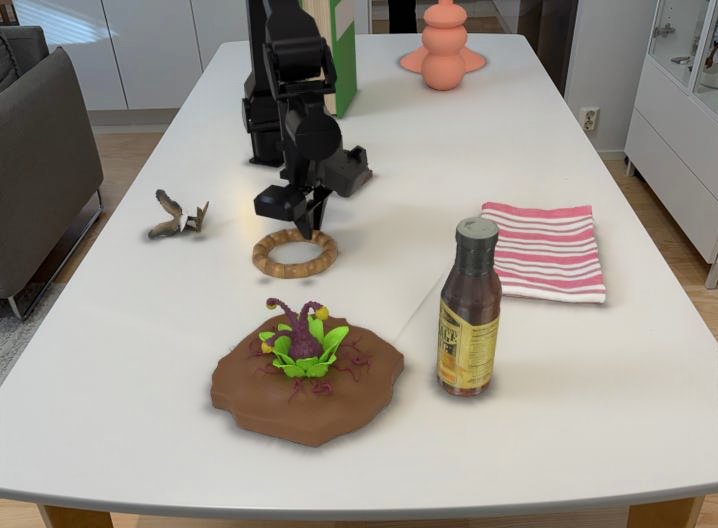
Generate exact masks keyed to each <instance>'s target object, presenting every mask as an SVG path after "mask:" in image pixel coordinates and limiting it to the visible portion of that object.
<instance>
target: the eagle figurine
mask: <svg viewBox="0 0 718 528" xmlns="http://www.w3.org/2000/svg"><path fill="white" fill-rule="evenodd" d="M155 198H156V200H157V202H159V205H161V207H162V208H163V210H164V211H165V212H166V213H167V214H169V215H171V216H172V217H173V219H171V220H167V221H164V222H159V223H158V224H156V225H155V227H154V228H153V229H151V230H149V231H148V233H147V235H148V236H147V237H148V238H149V239H155V238H158V237H163V236H164V237H170V236H172V235H174V234H175V232H176V231H177V229H179V228H180V232H181V233H182V232H183V230H184V229H185V230H188V231H192V232H195V233H196V234H200V233H201V232H202V231H201V230H202V227H203V220H204V219H205V216H206V213H207V212H208V209H209V206H210V205H209V203H210V201H209V200H207V201H206V203H205V205H204V207H203V209H202V208H201V207H199V206H196V216H192V215H189V213H188V211H187V210H185V211H184V210H183V207H182V206H181V205H180V204H179V203H178V202H177V201H176V200H173V199H171V197H170V196H169V195H168V194H167V193H166V190H164V189H161V188H160V189H159V188H157V189H156V190H155ZM183 211H184V213H183ZM192 221H194V223H195V227H194V226H193V225H191V224H189V223H188V222H192Z"/></svg>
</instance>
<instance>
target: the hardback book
mask: <svg viewBox="0 0 718 528" xmlns="http://www.w3.org/2000/svg"><path fill="white" fill-rule="evenodd" d="M299 2H300V5H301V8H302V9H303V10H304V11H305V12H307V13H308V14H309V15H311V16H312V17H313V18H314V19H315V21H316V24H317V26H318V29H319V32H320V35H321V37H324V38H325V39H326V41H327V44H328V45H329V46H330V49H331V53H332V57H333V61H334V65H335V69H336V74H337V82H336V83H335V88H336V93H335V94H327V95H324V100H325V105H326V107H327V109H328V111H329V112H330V113H331V115H336V119H343V116H344V115H345V113H346V111H347V109H348V107H349V106H350V104H351V102H352V101H353V99H354V97H355V96H356V94H357V92H358V78H357V77H358V75H357V55H356V54H357V53H356V51H357V50H356V30H355V5H354V0H299ZM321 79H325V77H324V73H323V70H322V68H321V75H320V77H319V78H310V79H306V80H307V81H312V80H321ZM325 81H326V80H325Z"/></svg>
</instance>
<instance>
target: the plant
mask: <svg viewBox="0 0 718 528" xmlns="http://www.w3.org/2000/svg"><path fill="white" fill-rule="evenodd" d="M265 306H266V308H267V309H268V310H271V311H272V310H275V309H276V308H277V307H278V306H279V307H280V309H281V310H283V311H284V313H281V314H278V315H275V316H272V317H270V318H268V319H267V320H265V321H264V322H263V323H262V324H260V325H259V326H258V327H257V328H256V329H255V330H253V331H251V333H249V334H247V336H245V337H243V339H242V340H241V341H239V343H238V344H237V345H236V346H235V347H234V348H232V350H230V352H229V353H227V354H226V355H224V356H223V357H221V358H220V359H219V360H218V361H217V365H216V367H215V369H214V370H213V372H212V374H211V382H212V384H211V388H210V392H209V394H210V398H211V403H212V407H213V408H215V409H221V410H225V411H227V412H229V414H231V415H232V416H233V418H234V421H235V424H236V426H237V427H239V428H241V429H243V430H245V431H250V432H255V433H260V434H262V435H266V436H267V435H268V436H272V437H276V438H280V439H284V440H287V441H290V442H293V443H297V444H301V445H304V446H308V447H314V448H315V447H319V446H321V445H323V444H325V443H327V442H329V441H331V440H333V439H335V438H337V437H339V436H341V435H343V434H344V435H345V434H348V433H353V432H354V431H357V430H358V429H360V428H362V427H364V426H366V425H367V424H368V423H370V421H372V420H373V418H375V416H376V415H378V414H379V413H380V411H382V410H383V409H384V408H385V407H386V406H387V405H388V404H389V403H390V402H391V400H392V398H393V385H394V382H395V381H396V379H397V378H398V377H399V375H400V374H401V373H402V372H403V370H404V369H405V358H404V354H403V353H402V352H400V351H399V350H398V349H397V348H396V347H395V346H394V345H392V344H390V342H388V341H387V340H384V339H383V338H382V337H380V336H379V335H378V334H376V332H374V331H372V330H370V329H368V328H366V327H361V326H357V325H352V324H351V323H349V322H348V320H347V318H346V317H334V316H331V315H330V311H329V308H327V307H326V306H325V305H324V304H321V303H320V302H317V301H312V300H309V301H308V302H306V303H304V304H303V306H302V308H301V309H300V312H299V313H297V312H296V311H293V310H291V309H292V308H291V307H289V305H288V304H286V303H285V302H284V301H282V300H280V299H279V298H277V297H269V298H267V299H266V301H265ZM310 308H311V309H312V310H313V313H311V314H310V313H309V312H310Z"/></svg>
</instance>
